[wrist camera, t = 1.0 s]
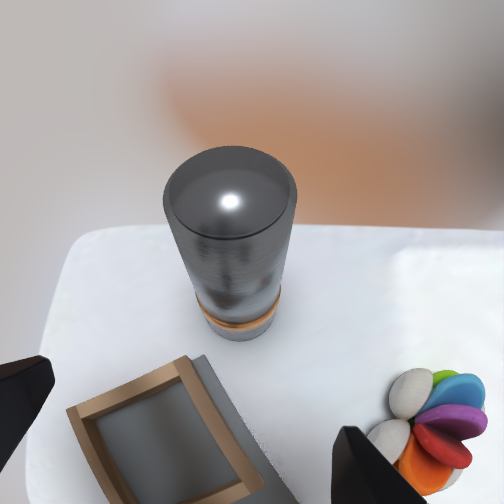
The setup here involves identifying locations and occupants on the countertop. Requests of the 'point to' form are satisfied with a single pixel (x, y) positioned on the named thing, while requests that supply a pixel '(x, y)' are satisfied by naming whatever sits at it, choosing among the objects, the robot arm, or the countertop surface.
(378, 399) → the countertop surface
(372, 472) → the robot arm
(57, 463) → the countertop surface
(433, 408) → the multicolored petal flower
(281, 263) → the grey metal cylinder
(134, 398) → the picture frame
